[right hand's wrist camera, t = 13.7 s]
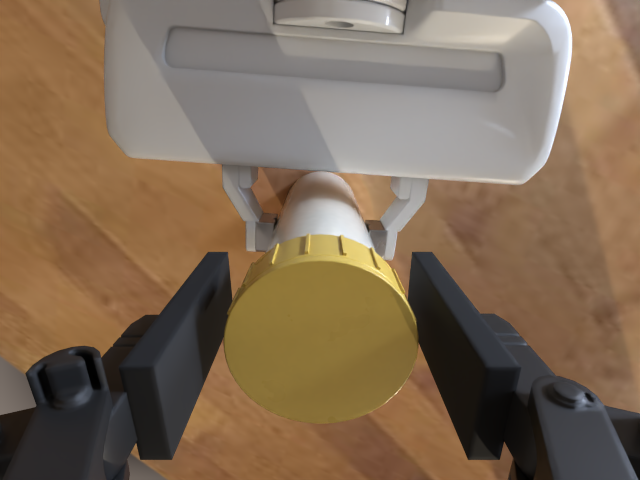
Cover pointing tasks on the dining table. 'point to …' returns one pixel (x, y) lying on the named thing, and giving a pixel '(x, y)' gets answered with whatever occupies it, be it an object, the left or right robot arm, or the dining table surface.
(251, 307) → the lid
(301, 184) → the jar
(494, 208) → the dining table surface
